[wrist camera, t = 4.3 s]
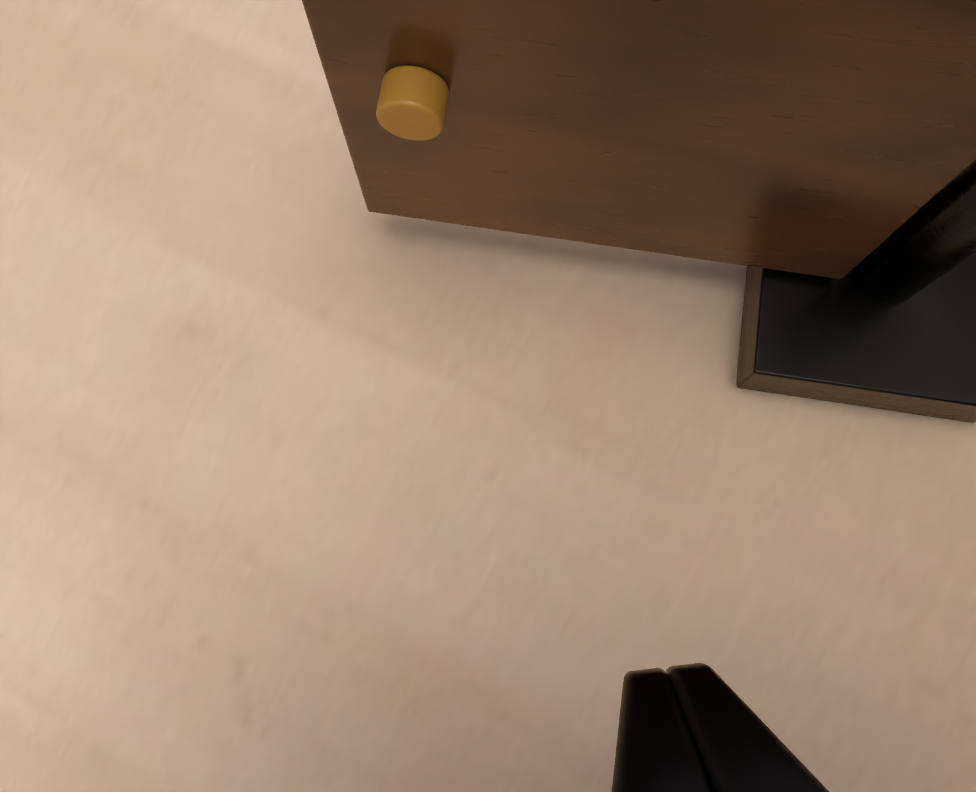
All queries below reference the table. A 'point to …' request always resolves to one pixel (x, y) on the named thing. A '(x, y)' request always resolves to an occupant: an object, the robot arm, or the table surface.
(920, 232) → the door post
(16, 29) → the table surface
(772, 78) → the door
